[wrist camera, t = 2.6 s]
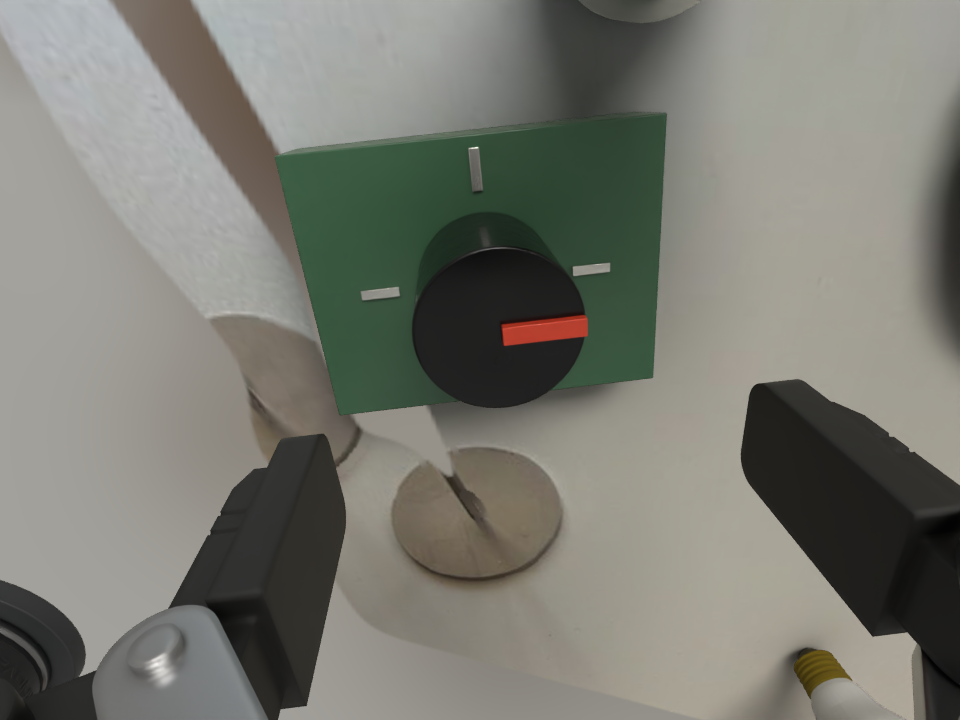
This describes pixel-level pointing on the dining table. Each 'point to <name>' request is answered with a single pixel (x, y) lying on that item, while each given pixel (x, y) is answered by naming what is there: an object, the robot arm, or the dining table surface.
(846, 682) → the light bulb
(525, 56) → the dining table surface
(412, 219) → the block
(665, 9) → the metal bottle
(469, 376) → the cylinder
